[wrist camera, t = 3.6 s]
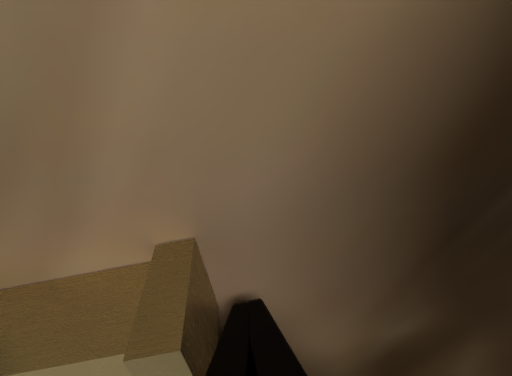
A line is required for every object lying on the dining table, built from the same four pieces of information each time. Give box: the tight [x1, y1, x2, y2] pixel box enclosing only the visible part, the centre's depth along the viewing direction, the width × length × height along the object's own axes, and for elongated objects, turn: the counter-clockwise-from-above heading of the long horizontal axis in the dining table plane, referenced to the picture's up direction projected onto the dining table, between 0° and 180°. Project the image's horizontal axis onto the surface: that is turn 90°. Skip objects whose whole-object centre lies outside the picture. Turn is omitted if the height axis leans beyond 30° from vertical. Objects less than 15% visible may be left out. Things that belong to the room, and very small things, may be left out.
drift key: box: [0, 238, 218, 376], centre depth 9 cm, size 9×3×4 cm, turn 100°
